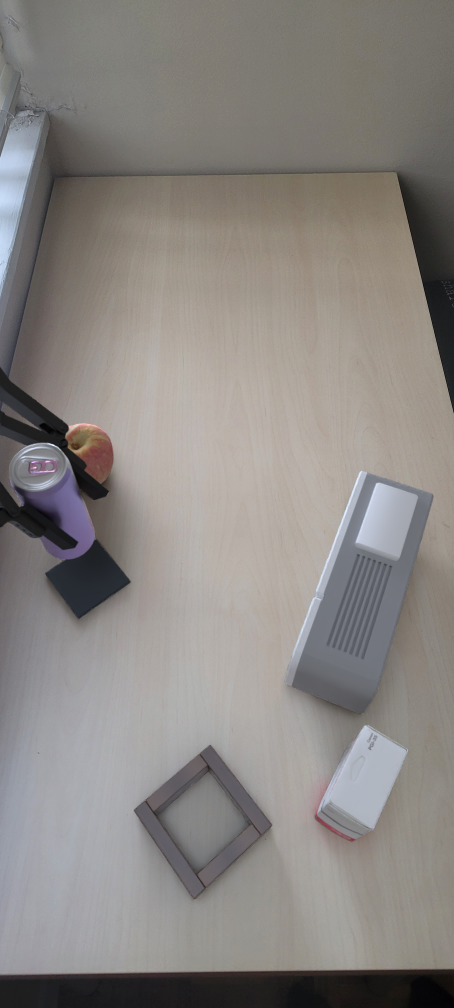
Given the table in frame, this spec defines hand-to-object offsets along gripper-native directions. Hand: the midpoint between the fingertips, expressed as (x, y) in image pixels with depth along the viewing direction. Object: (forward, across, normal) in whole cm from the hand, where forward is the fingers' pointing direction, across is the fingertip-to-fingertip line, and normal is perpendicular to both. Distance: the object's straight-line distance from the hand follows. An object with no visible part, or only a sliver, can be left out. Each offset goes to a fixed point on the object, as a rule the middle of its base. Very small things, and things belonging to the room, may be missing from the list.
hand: (86, 520), depth 68 cm
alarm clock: (+33, -10, +8) cm, 36 cm away
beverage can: (+2, 0, -8) cm, 8 cm away
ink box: (+38, +12, +13) cm, 41 cm away
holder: (+28, +20, +3) cm, 35 cm away
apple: (+4, -14, -21) cm, 26 cm away
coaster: (+10, 0, -15) cm, 18 cm away
